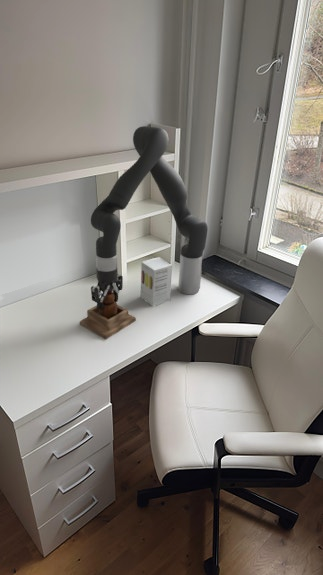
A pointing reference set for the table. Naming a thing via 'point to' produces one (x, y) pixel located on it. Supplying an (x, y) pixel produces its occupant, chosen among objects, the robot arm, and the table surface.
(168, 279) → the supplement box
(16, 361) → the table surface
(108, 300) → the wooden figurine
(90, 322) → the holder
